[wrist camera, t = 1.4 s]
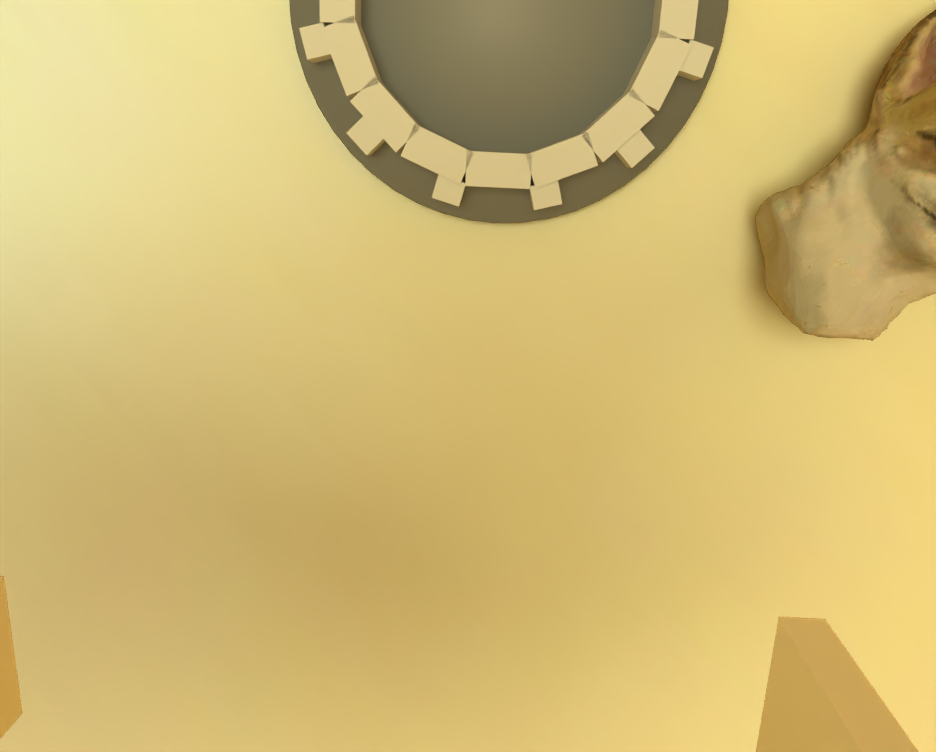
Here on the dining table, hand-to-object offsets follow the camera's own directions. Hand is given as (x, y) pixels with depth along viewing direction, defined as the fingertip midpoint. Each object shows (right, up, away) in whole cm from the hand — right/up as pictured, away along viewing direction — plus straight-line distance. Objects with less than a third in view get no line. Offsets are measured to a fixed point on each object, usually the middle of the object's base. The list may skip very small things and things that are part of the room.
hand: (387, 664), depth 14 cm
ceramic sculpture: (+20, +13, +22) cm, 32 cm away
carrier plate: (+3, +20, +20) cm, 29 cm away
